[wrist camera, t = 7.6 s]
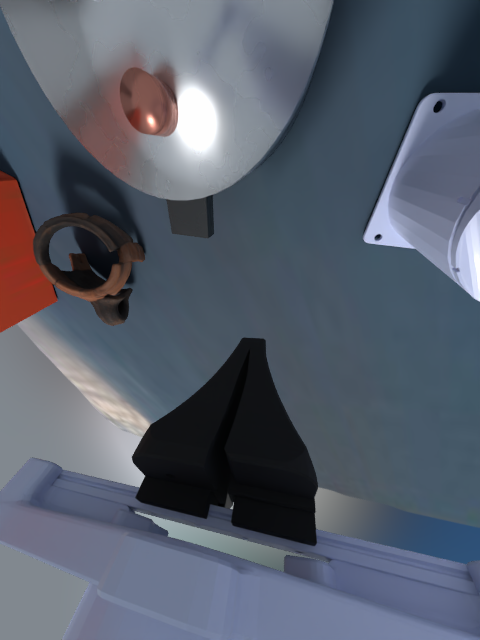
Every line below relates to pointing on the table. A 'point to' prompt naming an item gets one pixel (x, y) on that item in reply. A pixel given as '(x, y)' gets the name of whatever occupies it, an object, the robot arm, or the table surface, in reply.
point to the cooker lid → (173, 81)
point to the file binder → (19, 260)
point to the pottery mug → (82, 279)
